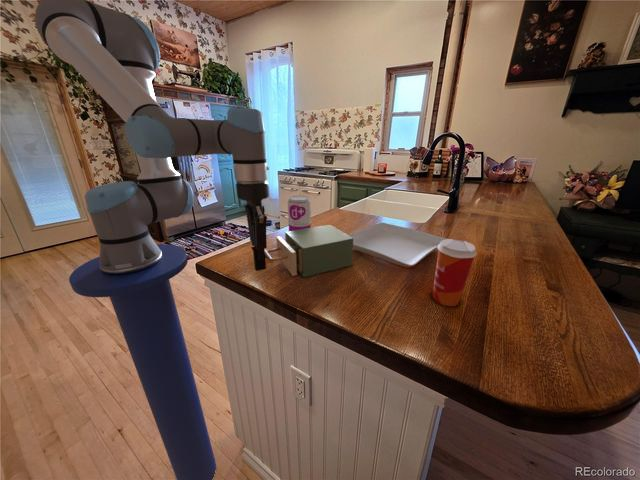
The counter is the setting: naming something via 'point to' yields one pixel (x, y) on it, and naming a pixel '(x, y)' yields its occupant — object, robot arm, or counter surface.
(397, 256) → the square plate
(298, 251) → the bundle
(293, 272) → the drawer
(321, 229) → the cabinet
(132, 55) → the robot arm
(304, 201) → the supplement can
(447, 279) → the paper cup
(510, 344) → the counter surface
